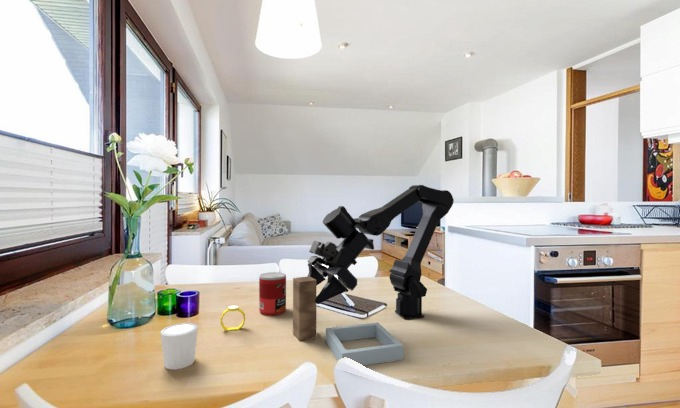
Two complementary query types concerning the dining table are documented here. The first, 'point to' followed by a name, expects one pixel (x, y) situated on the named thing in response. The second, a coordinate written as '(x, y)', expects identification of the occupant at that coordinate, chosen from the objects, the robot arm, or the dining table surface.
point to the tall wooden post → (304, 308)
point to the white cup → (179, 345)
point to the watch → (232, 308)
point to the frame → (369, 355)
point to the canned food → (272, 293)
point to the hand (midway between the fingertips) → (308, 297)
